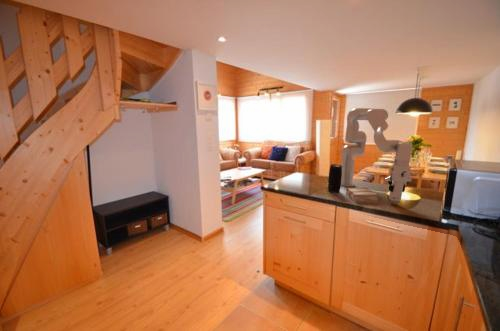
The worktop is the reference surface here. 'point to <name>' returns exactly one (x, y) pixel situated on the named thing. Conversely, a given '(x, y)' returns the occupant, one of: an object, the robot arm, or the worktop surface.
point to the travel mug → (397, 190)
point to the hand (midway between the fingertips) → (396, 190)
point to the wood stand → (361, 195)
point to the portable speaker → (335, 178)
